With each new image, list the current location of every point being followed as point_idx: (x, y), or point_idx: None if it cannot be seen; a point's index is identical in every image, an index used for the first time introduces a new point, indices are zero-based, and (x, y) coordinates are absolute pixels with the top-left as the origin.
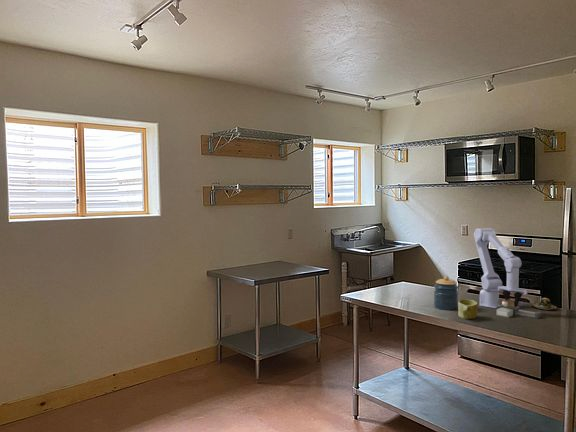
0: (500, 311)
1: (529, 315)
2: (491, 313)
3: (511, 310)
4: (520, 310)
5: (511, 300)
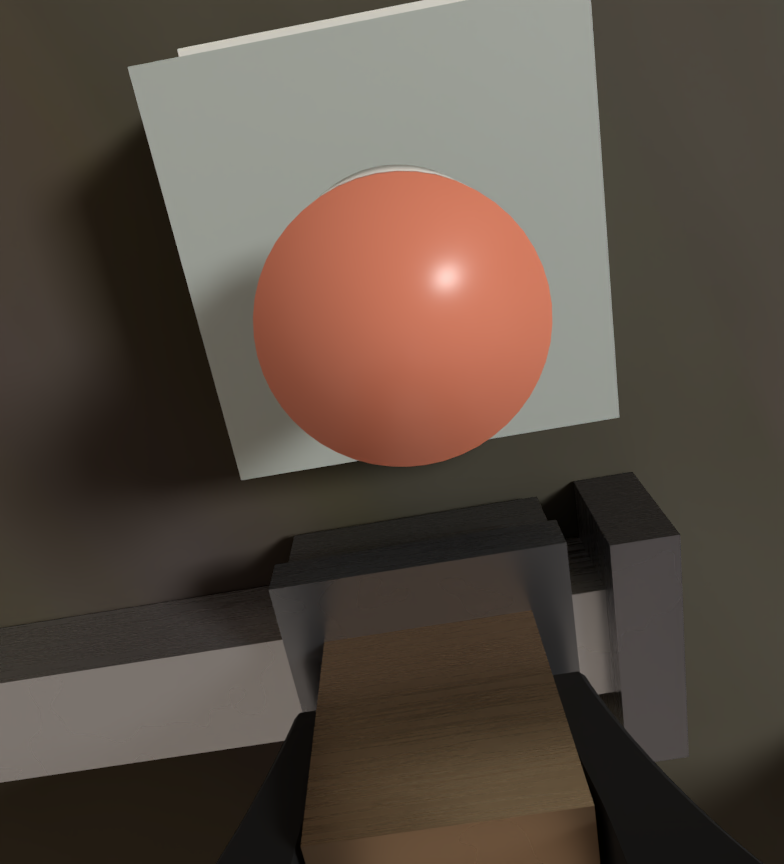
0: (413, 4)
1: (1, 640)
2: (739, 87)
3: (208, 356)
4: (220, 694)
5: (417, 813)
